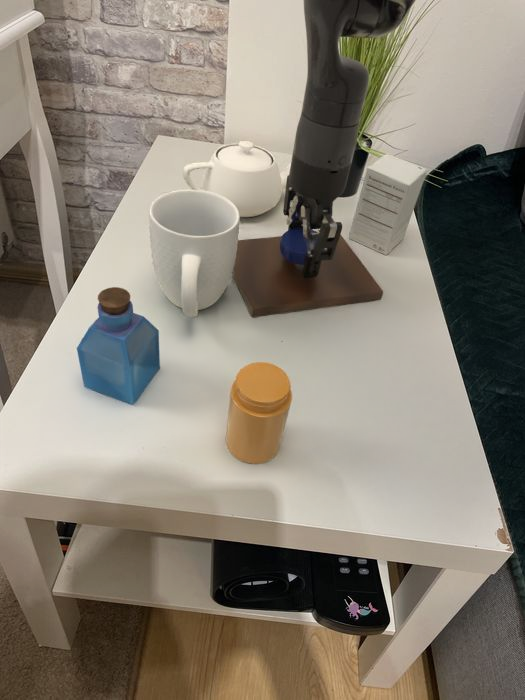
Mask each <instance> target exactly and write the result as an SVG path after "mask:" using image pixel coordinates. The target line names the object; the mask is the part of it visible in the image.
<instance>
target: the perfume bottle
mask: <svg viewBox="0 0 525 700" xmlns="http://www.w3.org/2000/svg"><path fill="white" fill-rule="evenodd" d="M97 300H98V304H97V315H98V317H97V318H96V319H95V321H94V322H93V323H92V324H91V325H90V326H89V327H88V329H87V330H86V332H85V334H84V335H83V337H82V339H81V340H80V341H79V344H78V345H77V346H76V352H77V357H78V363H79V368H80V372H81V377H82V382H83V383H82V384H83V387H84V388H86V389H89V390H92V391H94V392H96V393H99V394H102V395H104V396H107V397H110V398H113V399H115V400H118V401H121V402H123V403H125V404H129V405H131V406H134V405H135V404H136V403H137V401H138V399H139V398H140V397H141V395H142V394H143V393H144V391H145V390H146V389H147V387H148V386H149V384H150V383H151V382H152V380H153V379H154V378H155V376H156V374H157V373H158V372H159V370H160V369H161V362H160V361H161V360H160V335H159V334H160V332H159V329H158V328H157V327H156V326H155V325H154V324H152V323H151V322H150V321H149V320H148V319H147V318H146V317H145V316H143V315H141V314H138V313H135V312H134V305H133V302H132V301H131V293H130V292H129V291H128V290H127V289H125V288H123V287H119V286H112V287H107V288H105V289H103V290H101V291H99V293H98V295H97Z"/></svg>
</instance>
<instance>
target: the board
mask: <svg viewBox="0 0 525 700" xmlns="http://www.w3.org/2000/svg"><path fill="white" fill-rule="evenodd" d="M282 236H283V235H280V236H270V237H269V236H267V237H259V238H247V239H238V244H237V252H236V259H235V264H234V267H233V272H232V274H231V276H232V278H233V280H234V282H235V284H236V286H237V288H238V291H239V292H240V294H241V296H242V299H243V301H244V303H245V306H246V307H247V311H248V312H249V313H250V316H251V318H256V317H263V316H264V317H265V316H270V315H278V314H285V313H286V314H287V313H292V312H300V311H307V310H308V311H309V310H313V309H315V310H316V309H321V308H329V307H336V306H343V305H352V304H358V303H365V302H373V301H380V300H382V298H383V296H384V290H383V289H382V288H381V286H380V285H379V284H378V282H377V281H376V279H375V278H374V277H373V276H372V274H371V273H370V271H369V270H368V269H367V267H366V266H365V265H364V264H363V262H362V261H361V259H360V258H359V257H358V255H357V254H356V253H355V251H354V250H353V249H352V248H351V246H350V245H349V244H348V242H347V241H346V240H345V238H344V237H343V236H342V233H341V234H340V237H339V240H338V243H337V246H336V249H335V252H334V255H333V258H332V260H322V261H321V265H320V269H319V273H318V275H317V276H316V277H310V278H305V277H304V276H303V274H302V272H303V267H304V265H300V264H296V263H293V262H290V261H288V260H287V259H285V258H284V257H283V256H282V255H281V251H280V243H281V239H282Z"/></svg>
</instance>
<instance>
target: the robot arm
mask: <svg viewBox="0 0 525 700" xmlns="http://www.w3.org/2000/svg"><path fill="white" fill-rule="evenodd" d="M416 1H417V0H303V15H304V25H305V34H306V54H307V55H306V58H307V74H306V83H305V87H304V88H305V89H304V95H303V101H302V106H301V111H300V112H301V113H300V117H299V121H298V123H297V126H296V131H295V137H294V138H295V139H294V143H293V149H292V155H291V161H290V162H291V167H290V173H289V175H288V176H287V182H286V188H285V192H284V200H283V207H282V212H283V213H282V214H283V215H284V216H287V218H286V225H287V227H288V228H287V231H289V230H291V229H297V228H303V238H304V239H305V240H306V241H307V254H306V257H305V262H304V267H303V272H302V274H303V276H304V277H305V278H310V277H316V276H317V275H318V273H319V269H320V265H321V261H322V260H332V258H333V255H334V252H335V249H336V246H337V243H338V240H339V237H340V234H341V235H342V232H343V223H342V222H341V221H335V220H334V218H333V206H334V205H333V204H334V202H335V201H336V199H338V198H339V197H340V196H342V195H343V194H344V192H345V190H346V186H347V183H348V179H349V174H350V170H351V167H352V163H353V158H354V155H355V151H356V147H357V141H358V136H359V127H360V123H361V122H360V121H361V117H362V114H363V109H364V106H365V101H366V97H367V93H368V89H369V83H370V72H369V69H368V68H367V66H366V65H364V63H362V62H361V61H358V60H356V59H353V58H351V57H349V56H345V55H341V54H340V48H339V41H340V38H360V39H376V38H382V37H385V36H386V35H390V34H391V33H393V32H394V31H395V30H397V29H398V28H399V27H400V26H401V24H402V23H403V21H404V19H405V18H406V16H407V15H408V13H409V12H410V10H411V9H412V7H413V5H414V4H415V2H416ZM291 202H292V203H291ZM310 229H311V230H317V232H318V233H311V232H310ZM314 240H317V242H316V245H315V248H314V244H313V242H314Z"/></svg>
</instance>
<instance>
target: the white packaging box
mask: <svg viewBox="0 0 525 700" xmlns="http://www.w3.org/2000/svg"><path fill="white" fill-rule="evenodd" d="M427 173H428V169H427V168H425V167H423V166H421V165H418V164H416V163H412V162H410V161H407V160H405V159H402V158H399V157H397V156H394V155H392V154H389V153H385V154H384V155H382V156H381V157H380V158H378V159H377V160H376V161H375V162H373V163H372V164H370V165H369V166H368V167H366V171H365V176H364V179H363V183H362V186H361V190H360V193H359V198H358V200H357V205H356V209H355V212H354V216H353V219H352V224H351V227H350V231H349V236H348V238H349V239H350V240H352V241H354V242H356V243H359V244H360V245H363V246H365V247H367V248H369V249H371V250H373V251H376V252H378V253H380V254H383V255H385V256H387V255H388V254H390V252H391V251H393V249H394V248H396V246H397V245H398V244H400V242H401V241H402V240H403V239H404V238H405V235H406V233H407V230H408V227H409V225H410V221H411V218H412V215H413V213H414V210H415V207H416V205H417V201H418V198H419V195H420V193H421V189H422V188H423V187H422V186H423V184H424V181H425V179H426V175H427Z"/></svg>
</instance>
